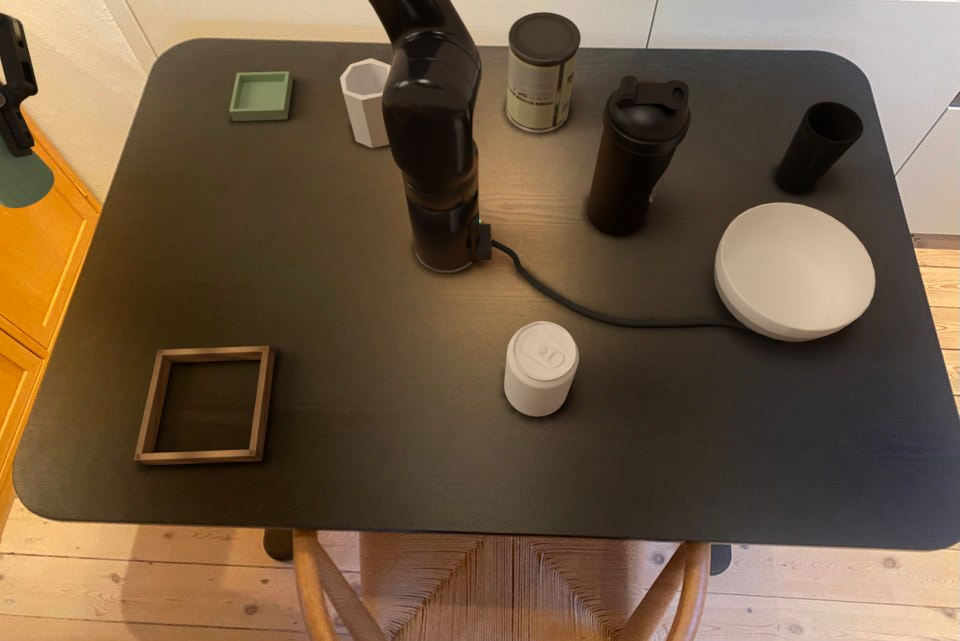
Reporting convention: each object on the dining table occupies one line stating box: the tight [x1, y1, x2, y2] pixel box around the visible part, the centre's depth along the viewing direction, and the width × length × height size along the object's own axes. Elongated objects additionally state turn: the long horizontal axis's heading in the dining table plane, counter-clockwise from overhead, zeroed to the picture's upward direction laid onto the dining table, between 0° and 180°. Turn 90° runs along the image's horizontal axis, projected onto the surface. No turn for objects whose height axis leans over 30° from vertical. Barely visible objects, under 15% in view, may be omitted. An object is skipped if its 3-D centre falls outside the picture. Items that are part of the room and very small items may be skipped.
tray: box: [228, 70, 294, 122], centre depth 99 cm, size 9×9×2 cm
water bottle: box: [586, 75, 692, 237], centre depth 79 cm, size 10×10×23 cm
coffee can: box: [505, 11, 582, 134], centre depth 93 cm, size 10×10×14 cm
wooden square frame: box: [133, 345, 276, 466], centre depth 75 cm, size 14×14×3 cm
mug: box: [339, 57, 392, 149], centre depth 93 cm, size 12×9×10 cm
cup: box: [774, 101, 864, 195], centre depth 87 cm, size 8×8×12 cm
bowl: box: [713, 202, 876, 342], centre depth 79 cm, size 19×19×9 cm
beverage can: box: [503, 320, 580, 417], centre depth 72 cm, size 8×8×12 cm
